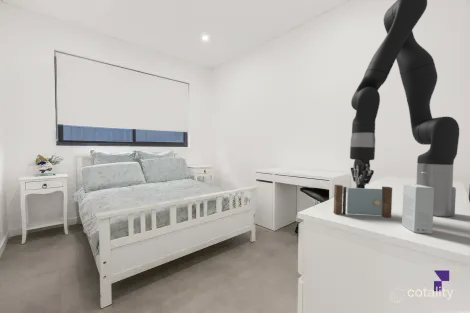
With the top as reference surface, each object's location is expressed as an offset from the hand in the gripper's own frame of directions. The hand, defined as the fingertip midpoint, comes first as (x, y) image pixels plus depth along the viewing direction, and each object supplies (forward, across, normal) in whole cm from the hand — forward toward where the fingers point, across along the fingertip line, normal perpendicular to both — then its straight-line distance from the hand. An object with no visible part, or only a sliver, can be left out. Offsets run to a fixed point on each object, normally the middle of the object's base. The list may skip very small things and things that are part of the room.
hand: (360, 194), depth 76 cm
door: (+5, -6, +1) cm, 8 cm away
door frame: (+6, -6, +2) cm, 8 cm away
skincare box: (+6, -17, -7) cm, 20 cm away
